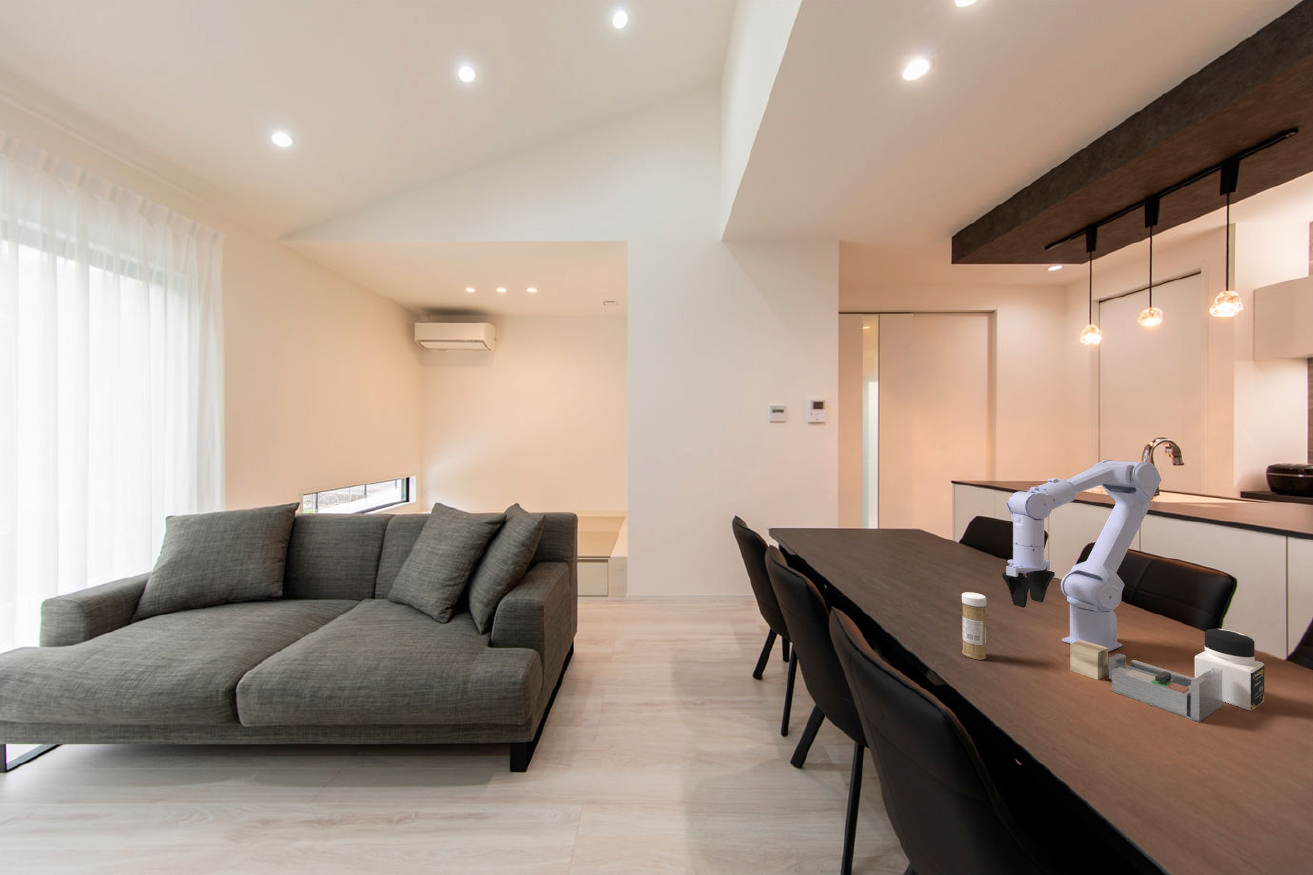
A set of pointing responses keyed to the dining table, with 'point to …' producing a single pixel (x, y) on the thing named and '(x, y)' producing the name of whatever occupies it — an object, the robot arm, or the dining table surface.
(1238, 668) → the medicine bottle
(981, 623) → the sprinkles bottle
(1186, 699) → the gauge housing
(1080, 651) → the block
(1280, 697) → the dining table surface
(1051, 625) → the dining table surface
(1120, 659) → the grey l-shaped piece
